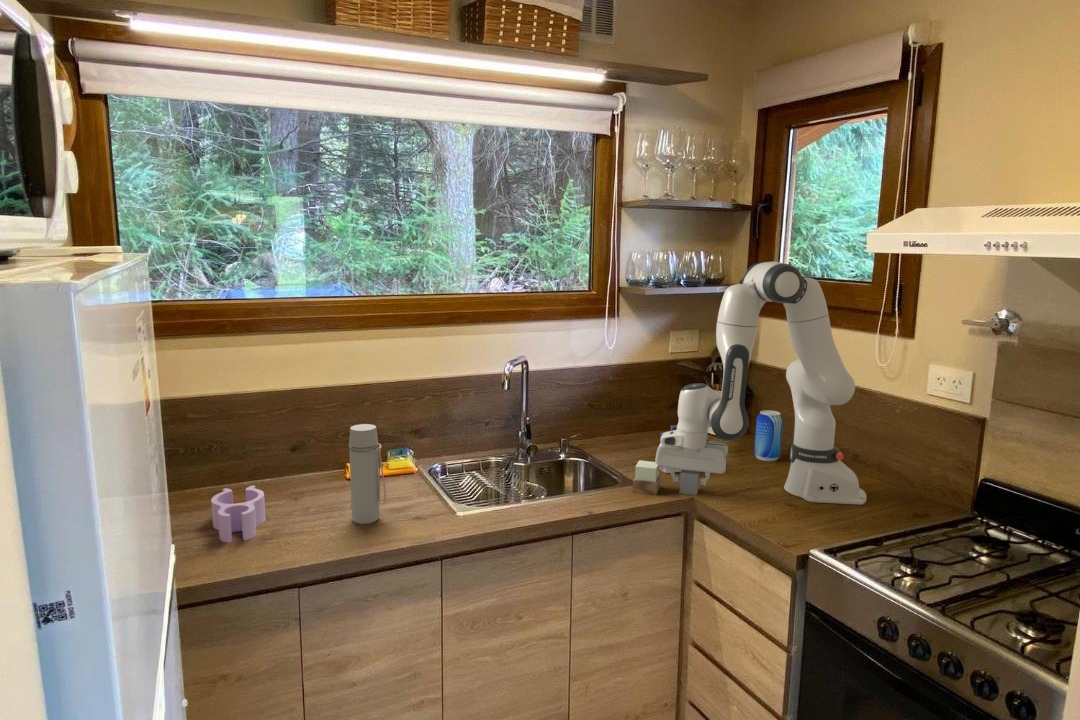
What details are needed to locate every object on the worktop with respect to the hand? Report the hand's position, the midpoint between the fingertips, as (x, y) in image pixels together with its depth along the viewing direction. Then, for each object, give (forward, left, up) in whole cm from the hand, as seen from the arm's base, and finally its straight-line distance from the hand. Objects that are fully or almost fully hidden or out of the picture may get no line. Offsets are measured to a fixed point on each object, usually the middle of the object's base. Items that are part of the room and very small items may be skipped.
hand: (689, 483), depth 207 cm
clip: (+106, +64, -3) cm, 124 cm away
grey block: (0, 0, -2) cm, 2 cm away
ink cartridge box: (+6, -18, -2) cm, 19 cm away
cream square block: (+12, +3, +2) cm, 12 cm away
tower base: (+12, +3, -2) cm, 13 cm away
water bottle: (+77, +50, -2) cm, 92 cm away
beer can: (-22, -41, -2) cm, 47 cm away
